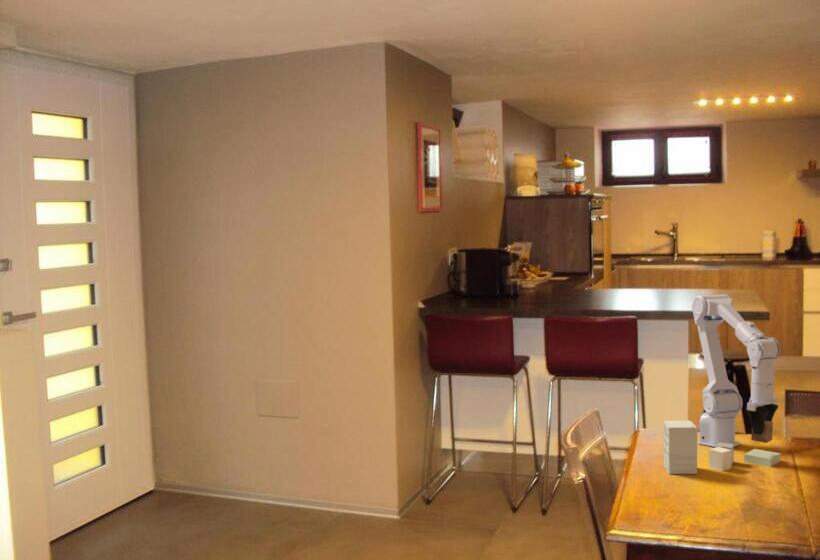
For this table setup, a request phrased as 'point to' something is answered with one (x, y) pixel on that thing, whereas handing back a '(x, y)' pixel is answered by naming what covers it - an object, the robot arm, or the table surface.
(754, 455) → the sage slab
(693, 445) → the supplement box
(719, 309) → the robot arm
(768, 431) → the walnut block
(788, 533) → the table surface
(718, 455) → the cream block
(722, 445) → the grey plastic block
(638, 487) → the table surface
